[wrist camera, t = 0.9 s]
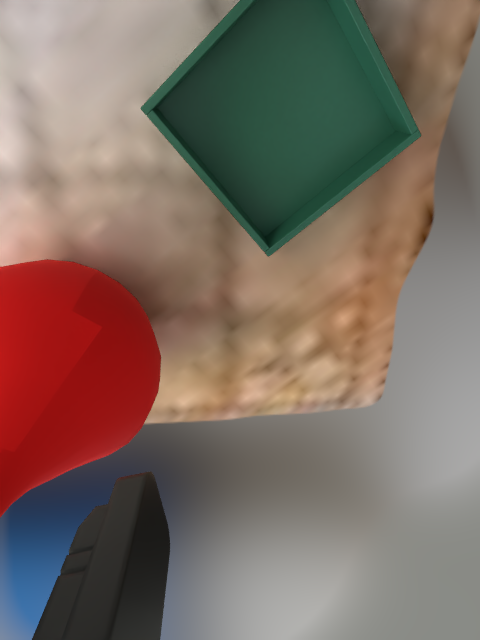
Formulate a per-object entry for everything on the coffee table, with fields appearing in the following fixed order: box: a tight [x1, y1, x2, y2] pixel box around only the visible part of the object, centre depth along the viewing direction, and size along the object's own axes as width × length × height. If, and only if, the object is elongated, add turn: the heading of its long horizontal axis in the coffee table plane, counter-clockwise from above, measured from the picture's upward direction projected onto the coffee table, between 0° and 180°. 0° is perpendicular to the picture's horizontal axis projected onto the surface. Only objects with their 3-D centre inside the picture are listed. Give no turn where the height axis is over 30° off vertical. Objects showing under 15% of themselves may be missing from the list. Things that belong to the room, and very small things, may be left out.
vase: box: [0, 259, 161, 517], centre depth 26 cm, size 18×18×30 cm
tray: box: [141, 0, 421, 257], centre depth 29 cm, size 15×15×4 cm
